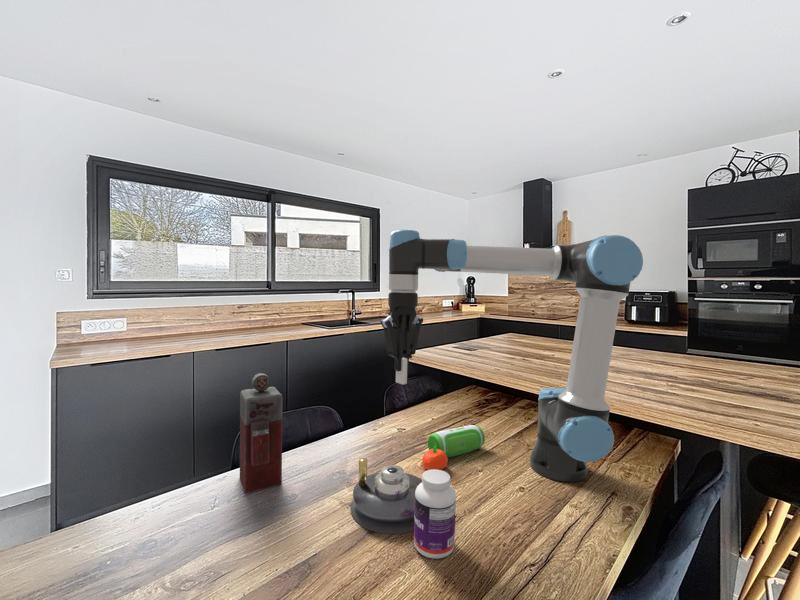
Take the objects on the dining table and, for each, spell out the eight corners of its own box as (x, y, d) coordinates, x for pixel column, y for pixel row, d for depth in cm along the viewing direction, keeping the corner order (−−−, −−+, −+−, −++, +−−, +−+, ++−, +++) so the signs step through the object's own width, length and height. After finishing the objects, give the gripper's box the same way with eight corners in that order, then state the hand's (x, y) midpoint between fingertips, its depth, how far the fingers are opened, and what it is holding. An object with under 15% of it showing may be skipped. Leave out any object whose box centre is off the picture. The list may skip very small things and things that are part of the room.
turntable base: (438, 491, 95) (438, 485, 95) (425, 541, 76) (425, 534, 76) (366, 480, 99) (366, 475, 99) (337, 525, 81) (337, 518, 81)
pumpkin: (419, 475, 104) (417, 452, 104) (427, 462, 111) (425, 441, 111) (444, 477, 101) (442, 453, 101) (451, 464, 109) (449, 441, 109)
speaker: (439, 463, 110) (440, 438, 110) (426, 453, 116) (426, 429, 116) (485, 451, 119) (486, 428, 118) (470, 443, 125) (471, 420, 125)
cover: (382, 479, 92) (382, 459, 92) (413, 486, 90) (414, 465, 90) (368, 497, 85) (369, 474, 85) (402, 504, 82) (403, 481, 82)
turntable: (372, 473, 100) (373, 443, 99) (439, 486, 94) (440, 455, 93) (338, 512, 82) (339, 476, 82) (417, 532, 76) (418, 493, 76)
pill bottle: (411, 534, 79) (413, 466, 78) (449, 532, 79) (451, 465, 79) (416, 562, 70) (418, 487, 70) (458, 561, 71) (460, 486, 71)
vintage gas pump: (246, 498, 90) (246, 382, 89) (239, 476, 100) (240, 372, 99) (284, 488, 95) (285, 378, 93) (274, 469, 104) (275, 368, 103)
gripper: (411, 291, 104) (409, 376, 105) (374, 291, 95) (372, 383, 96) (431, 292, 98) (429, 382, 99) (393, 292, 89) (391, 390, 90)
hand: (401, 382), depth 98 cm, fingers closed
